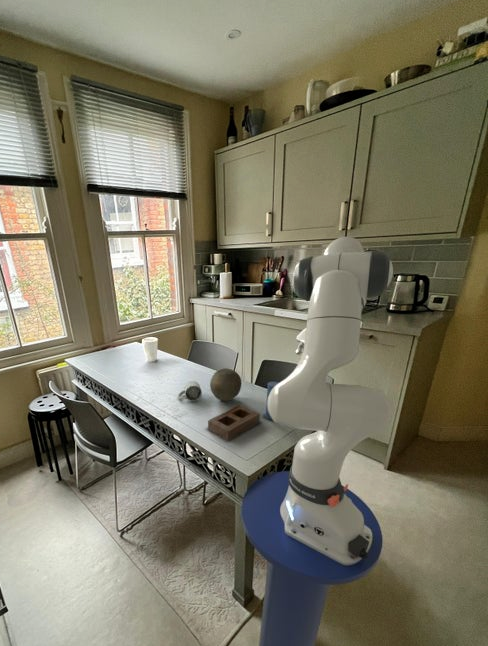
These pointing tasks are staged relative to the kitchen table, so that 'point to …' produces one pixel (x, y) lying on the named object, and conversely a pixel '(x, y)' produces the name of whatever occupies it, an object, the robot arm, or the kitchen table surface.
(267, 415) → the peg
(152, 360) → the foam cup
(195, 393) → the ceramic mug
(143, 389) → the kitchen table surface
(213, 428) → the peg block
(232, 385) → the cantaloupe
